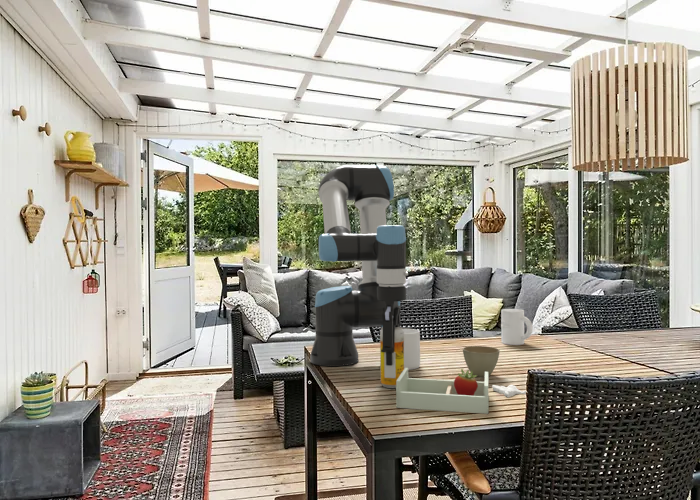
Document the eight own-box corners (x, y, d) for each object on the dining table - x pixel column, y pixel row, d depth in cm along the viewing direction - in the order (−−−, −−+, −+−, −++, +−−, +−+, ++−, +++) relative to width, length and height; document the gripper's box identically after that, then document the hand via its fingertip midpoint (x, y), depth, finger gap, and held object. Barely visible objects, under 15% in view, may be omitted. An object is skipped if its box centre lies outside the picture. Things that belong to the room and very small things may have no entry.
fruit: (476, 407, 119) (476, 372, 119) (452, 405, 121) (452, 370, 121) (478, 401, 124) (478, 367, 124) (455, 399, 126) (455, 365, 125)
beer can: (402, 389, 134) (402, 329, 134) (379, 387, 136) (378, 329, 135) (405, 382, 140) (404, 325, 140) (382, 381, 141) (381, 325, 141)
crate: (396, 407, 120) (396, 381, 120) (405, 391, 132) (405, 367, 132) (488, 413, 115) (488, 386, 115) (488, 396, 127) (488, 371, 127)
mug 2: (525, 347, 186) (525, 313, 186) (496, 342, 195) (496, 310, 195) (538, 344, 191) (538, 311, 191) (509, 340, 200) (509, 308, 200)
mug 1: (377, 368, 158) (376, 332, 158) (405, 362, 165) (404, 327, 165) (397, 373, 151) (397, 335, 151) (426, 366, 159) (425, 330, 159)
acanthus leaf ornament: (508, 400, 127) (508, 392, 127) (488, 393, 133) (488, 385, 133) (531, 395, 130) (531, 387, 130) (510, 388, 136) (510, 381, 136)
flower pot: (474, 380, 142) (474, 353, 142) (456, 372, 152) (456, 347, 152) (507, 377, 145) (506, 351, 145) (487, 369, 155) (487, 344, 155)
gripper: (399, 288, 127) (400, 384, 128) (411, 282, 146) (411, 366, 146) (369, 288, 129) (370, 383, 130) (384, 281, 147) (385, 365, 148)
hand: (392, 374), depth 138 cm, fingers closed on beer can, 6 cm apart
